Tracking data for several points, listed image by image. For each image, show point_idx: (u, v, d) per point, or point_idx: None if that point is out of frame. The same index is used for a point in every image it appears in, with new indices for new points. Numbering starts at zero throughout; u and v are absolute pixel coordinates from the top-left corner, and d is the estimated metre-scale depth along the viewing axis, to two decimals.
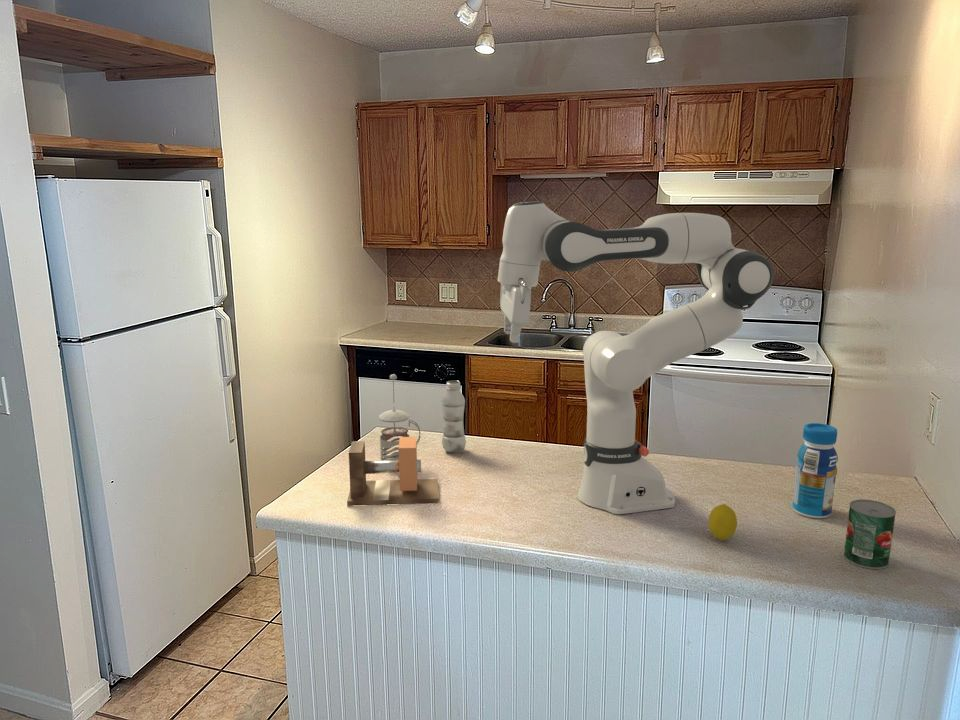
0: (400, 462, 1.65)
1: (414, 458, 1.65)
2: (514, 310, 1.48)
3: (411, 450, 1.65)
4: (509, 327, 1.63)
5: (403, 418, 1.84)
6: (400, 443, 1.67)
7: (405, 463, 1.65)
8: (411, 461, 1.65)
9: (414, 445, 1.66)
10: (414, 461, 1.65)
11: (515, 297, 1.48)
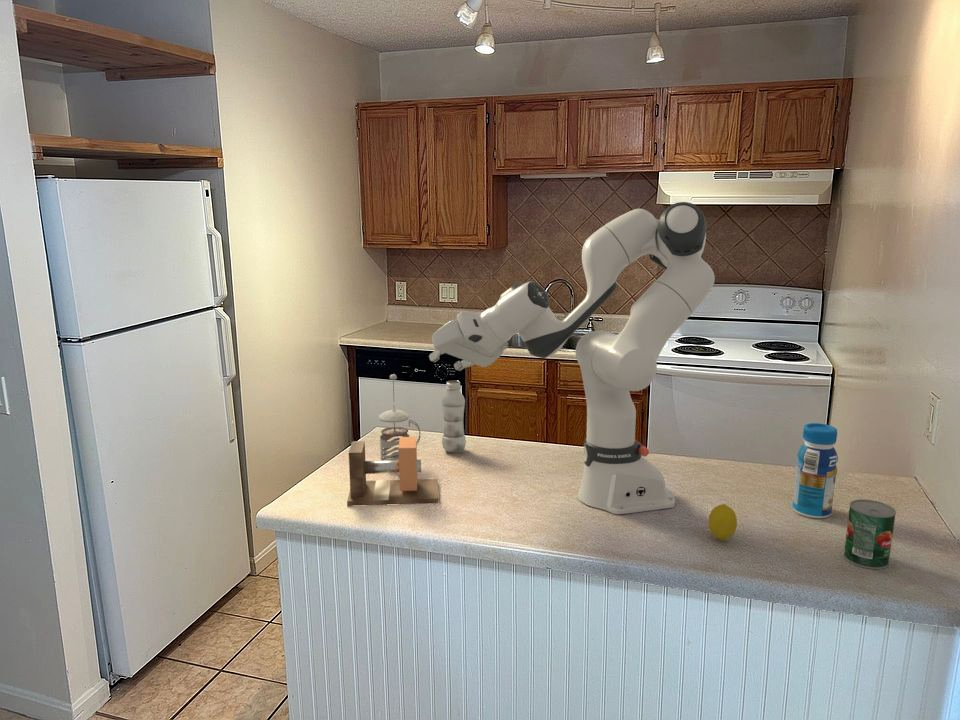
0: (400, 462, 1.65)
1: (414, 458, 1.65)
2: None
3: (411, 450, 1.65)
4: None
5: (403, 418, 1.84)
6: (400, 443, 1.67)
7: (405, 463, 1.65)
8: (411, 461, 1.65)
9: (414, 445, 1.66)
10: (414, 461, 1.65)
11: (500, 355, 1.74)
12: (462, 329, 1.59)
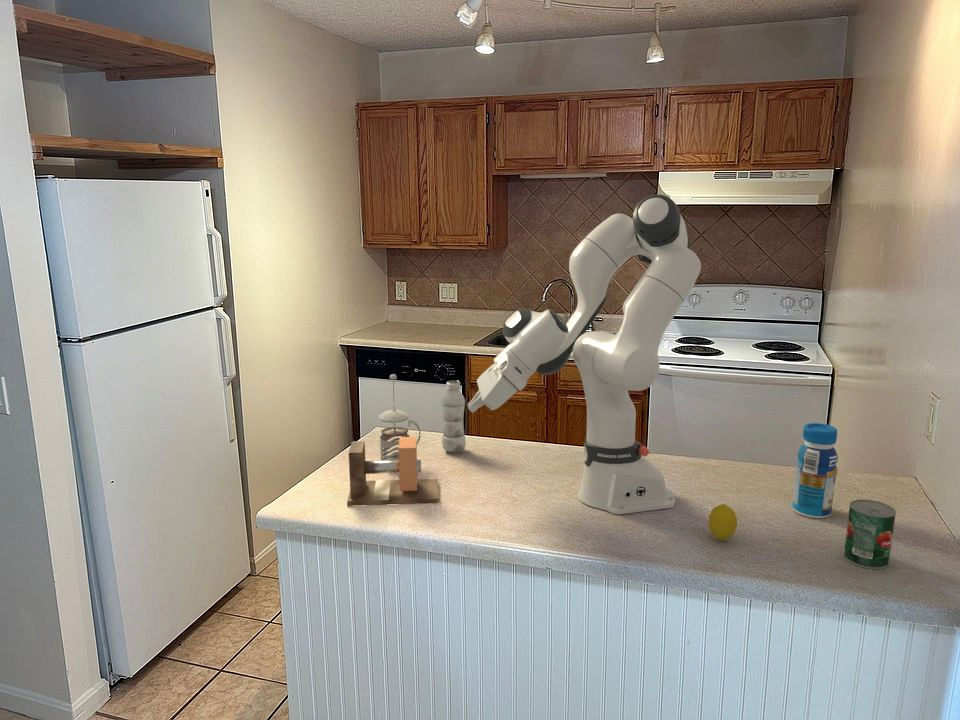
0: (400, 462, 1.65)
1: (414, 458, 1.65)
2: None
3: (411, 450, 1.65)
4: None
5: (403, 418, 1.84)
6: (400, 443, 1.67)
7: (405, 463, 1.65)
8: (411, 461, 1.65)
9: (414, 445, 1.66)
10: (414, 461, 1.65)
11: None
12: (516, 384, 1.58)
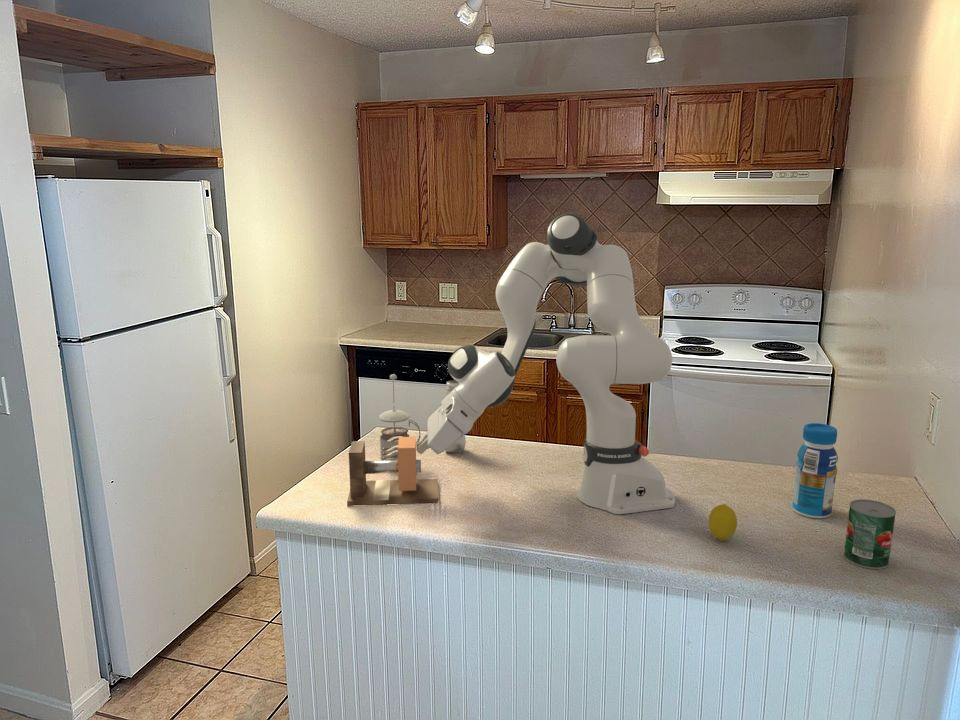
0: (399, 462, 1.65)
1: (413, 458, 1.65)
2: None
3: (410, 450, 1.65)
4: None
5: (403, 418, 1.84)
6: (399, 443, 1.67)
7: (404, 463, 1.65)
8: (410, 461, 1.65)
9: (413, 445, 1.66)
10: (413, 461, 1.65)
11: None
12: (461, 428, 1.59)
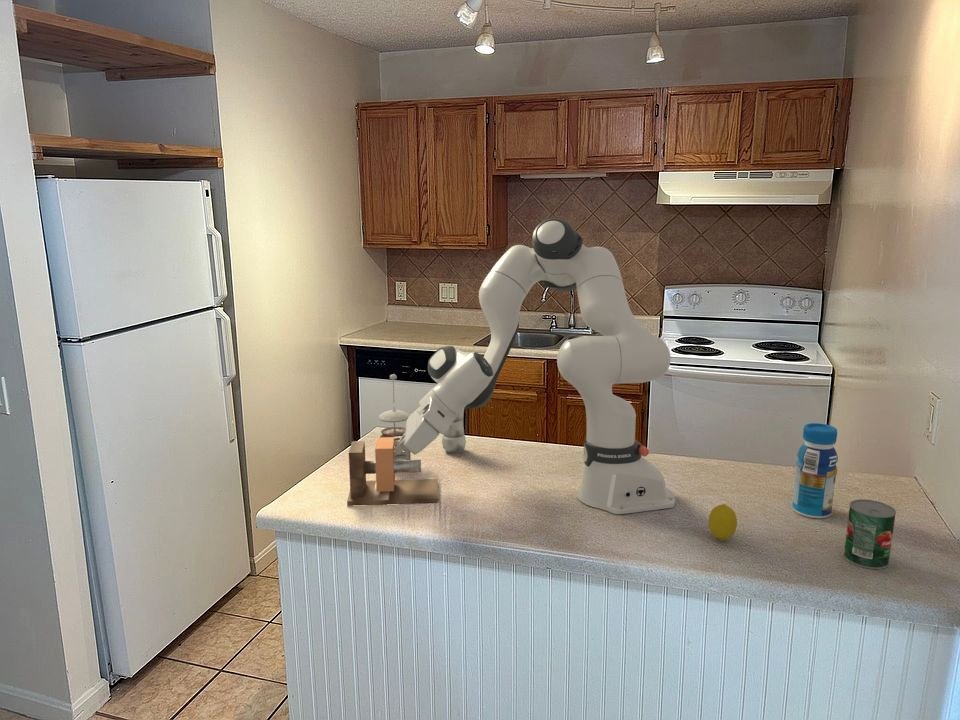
0: (377, 463, 1.65)
1: (391, 459, 1.65)
2: None
3: (387, 451, 1.64)
4: None
5: (403, 418, 1.84)
6: (377, 444, 1.67)
7: (382, 464, 1.65)
8: (387, 461, 1.65)
9: (391, 446, 1.66)
10: (391, 462, 1.65)
11: None
12: (438, 428, 1.59)
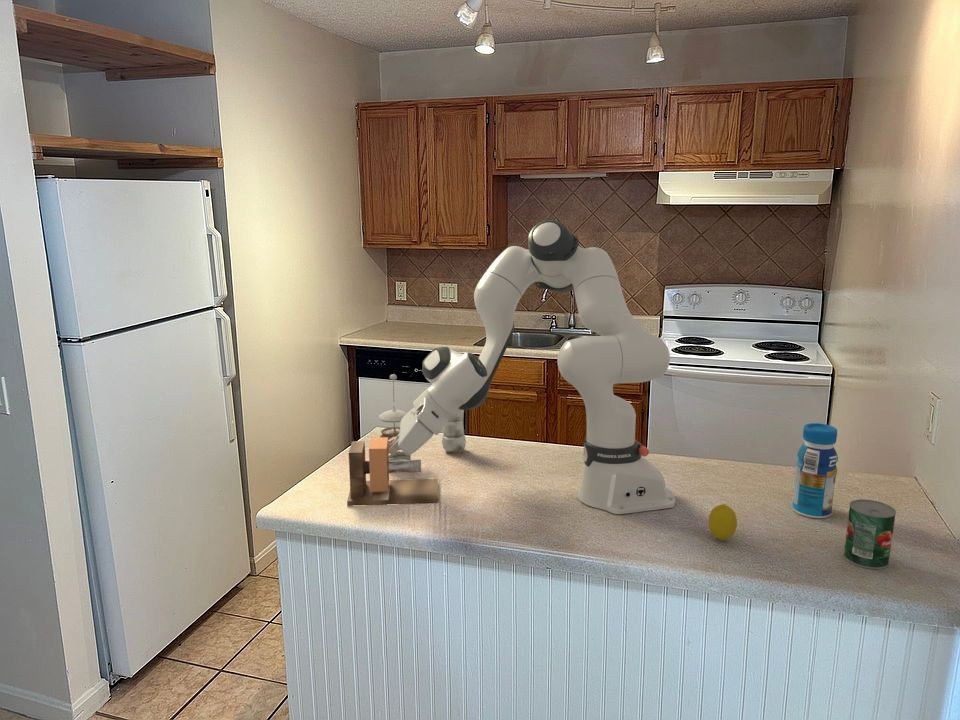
0: (370, 463, 1.64)
1: (384, 459, 1.65)
2: None
3: (381, 451, 1.64)
4: None
5: None
6: (371, 444, 1.67)
7: (375, 464, 1.65)
8: (381, 462, 1.65)
9: (385, 446, 1.66)
10: (384, 462, 1.65)
11: None
12: (432, 429, 1.59)
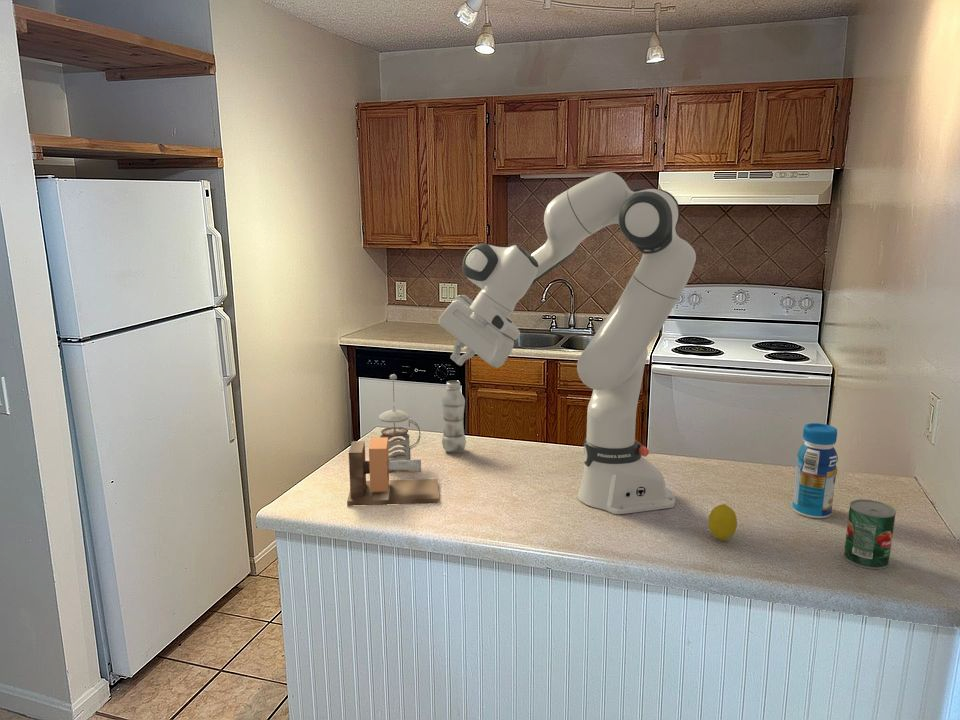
0: (370, 463, 1.64)
1: (384, 459, 1.65)
2: None
3: (381, 451, 1.64)
4: None
5: (403, 418, 1.84)
6: (371, 444, 1.67)
7: (375, 464, 1.65)
8: (381, 462, 1.65)
9: (385, 446, 1.66)
10: (384, 462, 1.65)
11: None
12: (514, 336, 1.59)
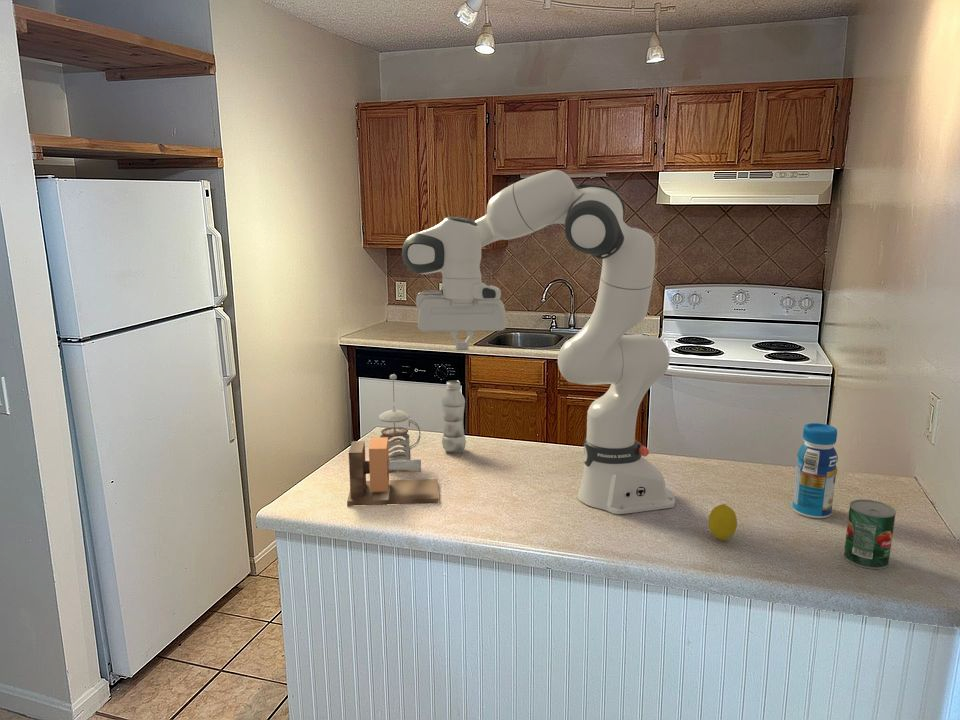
0: (370, 463, 1.64)
1: (384, 459, 1.65)
2: None
3: (381, 451, 1.64)
4: None
5: (403, 418, 1.84)
6: (371, 444, 1.67)
7: (375, 464, 1.65)
8: (381, 462, 1.65)
9: (385, 446, 1.66)
10: (384, 462, 1.65)
11: None
12: None
